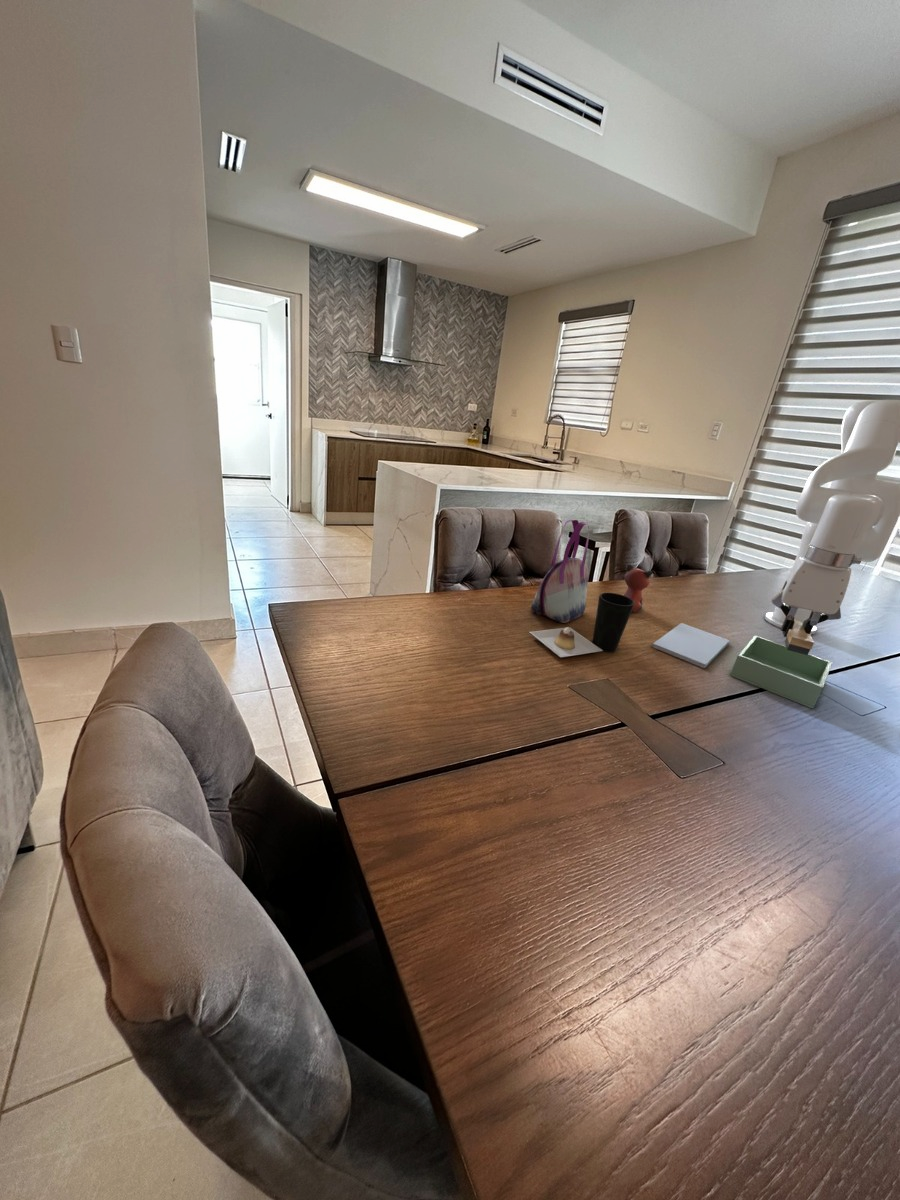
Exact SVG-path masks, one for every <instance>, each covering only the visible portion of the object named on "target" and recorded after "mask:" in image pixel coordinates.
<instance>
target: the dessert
mask: <svg viewBox="0 0 900 1200" xmlns="http://www.w3.org/2000/svg"><path fill="white" fill-rule="evenodd" d="M529 634H531V635H532V636H533V637H534V638H535V639H537V640H538V641H539V642H540V643H542V644H543V645H544V646H545V647H546V648H548V649H549V650H551V651H552V652H553V653H554V654H555V655H557V656H558V657H560V658H568V657H574V656H580V655H586V654H591V653H599V652H604V651H603V650H602V649H600V648H599V647H597V646H596V645H594V644H593V643H592V642H591V641H590V640H589V639H587V638H586V637H585V636H583V635H582V634H580V633H579V632H578V631H576V630H575V629H573V628H572V627H570V626H569V627H568V626H565V627H559V628H558V627H557V628H552V629H543V630H536V631H529Z"/></svg>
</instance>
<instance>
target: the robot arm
mask: <svg viewBox="0 0 900 1200" xmlns="http://www.w3.org/2000/svg"><path fill="white" fill-rule="evenodd" d="M840 441H841V442H840V443H841V452H840V453H839V454H837V455H835V456H833V457H831V458H829V459H827V460H826V461H824V462H823V463H821V464H820V465H819V466H817V468H815V469H814V470H813V471H812V472H811V474H810V475H809V477H808V478H807V480H806V482H805V484H804V487H803V489H802V491H801V493H800V495H799V498H798V500H797V504H796V508H795V515H796V516H797V518H798V519H799V520H801V521H804V522H806V524H805V525H804V527H803V531H802V535H801V539H800V545H799V547H798V551H797V554H796V556H795V559H794V562H793V565H792V567H791V569H790V570H789V572H788V574H787V576H786V578H785V580H784V582H783V584H782V585H781V589H780V591H779V592H778V593H777V594H776V595H775V596H773V598H771V603H772V605H774V606H775V608H774V611H772V612H771V611H770V612H767V613H766V614H765V615H764V619H765V620H766V622H768V623H769V624H771V625H773V626H775V627H777V628H779V629H780V631H781V632H782V635H783V637H784V638H786V637H787V633H788V631H789V629H792V627H793V625H794V623H795V621H794V620H797V621H801V623H802V625H803V628H804V630H805V632H806V633H807V634H810V635H814V634H815V633H816V632H817V630H818V628H817V625H818V624H821V623H824V622H826V621H834V620H841V618H842V613H841V612H842V611H841V606H842V603H843V601H844V598H845V595H846V593H847V590H848V587H849V583H850V580H851V575H852V568H851V566H852V565H860V564H861V563H862V562H865V563H871V562H874V561H876V560H878V559H879V558H880V557H881V555H882V554H883V552H884V550H885V548H886V546H887V544H888V542H889V540H890V538H891V535H892V533H893V531H894V529H895V527H896V525H897V522H898V520H899V518H900V482H896V481H892V480H884V479H879V478H877V475H878V473H880V472H882V471H884V470H886V469H887V468H889V466H890V465H891V464H892V463H893V461H894V458H895V456H896V452H897V450H898V447H899V444H900V399H882V400H864V401H858V402H854V403H853V404H851V405H850V406H849V407H848V408H847V409H846V410H845V413H844V415H843V419H842V423H841V432H840ZM828 483H829V485H828V487H825V486H824V485H825V484H828Z"/></svg>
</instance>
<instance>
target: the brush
mask: <svg viewBox="0 0 900 1200" xmlns="http://www.w3.org/2000/svg"><path fill="white" fill-rule="evenodd" d="M794 621H795V623H794V625H793V627H792V629H789V631H788V633H787V637H785V639H784V644H785V646H786V648H787V650H790V651H793V652H797V653H801V654H804V655H808V654H810V652H811V650H812V648H813V646H814V644H815V642H814V639H813V637H812V634H807V633H806V632H805V630H804V628H803V625H802V623H801V621H797V620H794Z"/></svg>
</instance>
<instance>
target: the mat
mask: <svg viewBox="0 0 900 1200" xmlns="http://www.w3.org/2000/svg"><path fill="white" fill-rule="evenodd" d="M730 641H731V640H729V639H727V638H724V637H721V636H719V635H716V634H713V633H710V632H707V631H705V630H702V629H700V628H697V627H694V626H691V625H688V624H686V623H683V622H680V623H679V624H678V625H676V626H674V627H673V628H672V629H671V630H670V631H668V632H667V633H665V634H664V635H662V636H661V637H659V638H658V639H657V640H656V641H655V642H653V643H652V645H651V648H653V649H656V650H659V651H661V652H663V653H665V654H669V655H670V656H673V657H676V658H678V659H680V660H683V661H685V662H688V663H690V664H692V665H695V666H697V667H700V668H702V669H705V668H706V667H708V666H709V665H710V663H712V661H713V660H714V659H715V658H716V657H717V656H718V655H719V654H720V653H721V652H722V651H723V650H724V649H725V648H726V647H727V646H728V645H729V643H730Z"/></svg>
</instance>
